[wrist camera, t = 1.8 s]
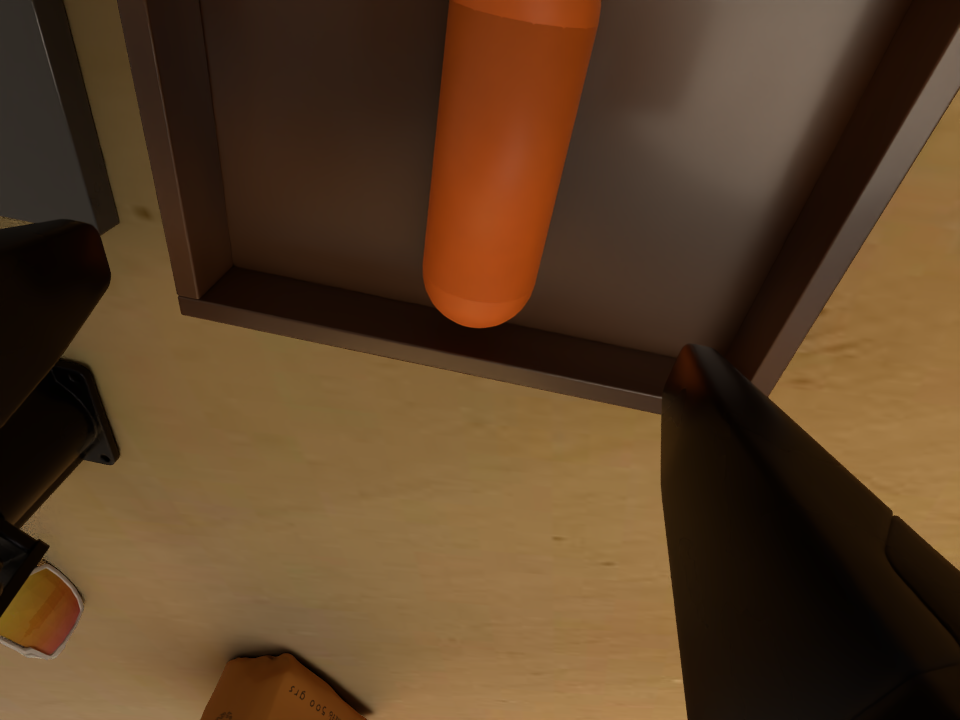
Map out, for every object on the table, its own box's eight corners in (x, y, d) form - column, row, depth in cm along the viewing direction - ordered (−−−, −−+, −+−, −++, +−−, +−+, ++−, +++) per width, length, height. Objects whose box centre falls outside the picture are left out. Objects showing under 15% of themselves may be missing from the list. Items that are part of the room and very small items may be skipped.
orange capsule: (528, 300, 21) (519, 360, 18) (430, 280, 21) (406, 337, 18) (616, -70, 14) (625, -67, 11) (472, -98, 14) (445, -103, 11)
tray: (729, 378, 22) (746, 433, 20) (222, 273, 23) (180, 315, 20) (994, -105, 13) (1085, -110, 11) (144, -266, 14) (52, -305, 11)
